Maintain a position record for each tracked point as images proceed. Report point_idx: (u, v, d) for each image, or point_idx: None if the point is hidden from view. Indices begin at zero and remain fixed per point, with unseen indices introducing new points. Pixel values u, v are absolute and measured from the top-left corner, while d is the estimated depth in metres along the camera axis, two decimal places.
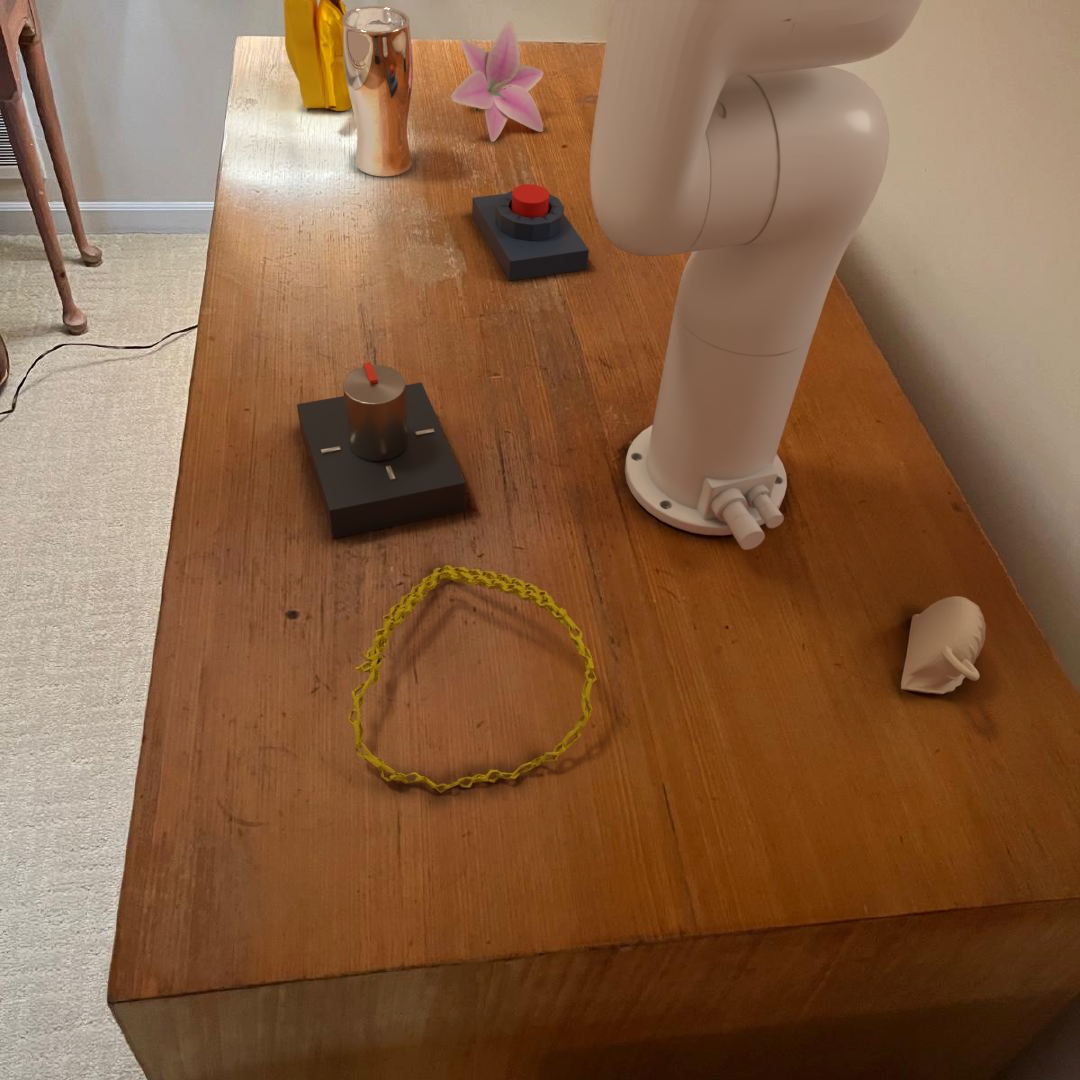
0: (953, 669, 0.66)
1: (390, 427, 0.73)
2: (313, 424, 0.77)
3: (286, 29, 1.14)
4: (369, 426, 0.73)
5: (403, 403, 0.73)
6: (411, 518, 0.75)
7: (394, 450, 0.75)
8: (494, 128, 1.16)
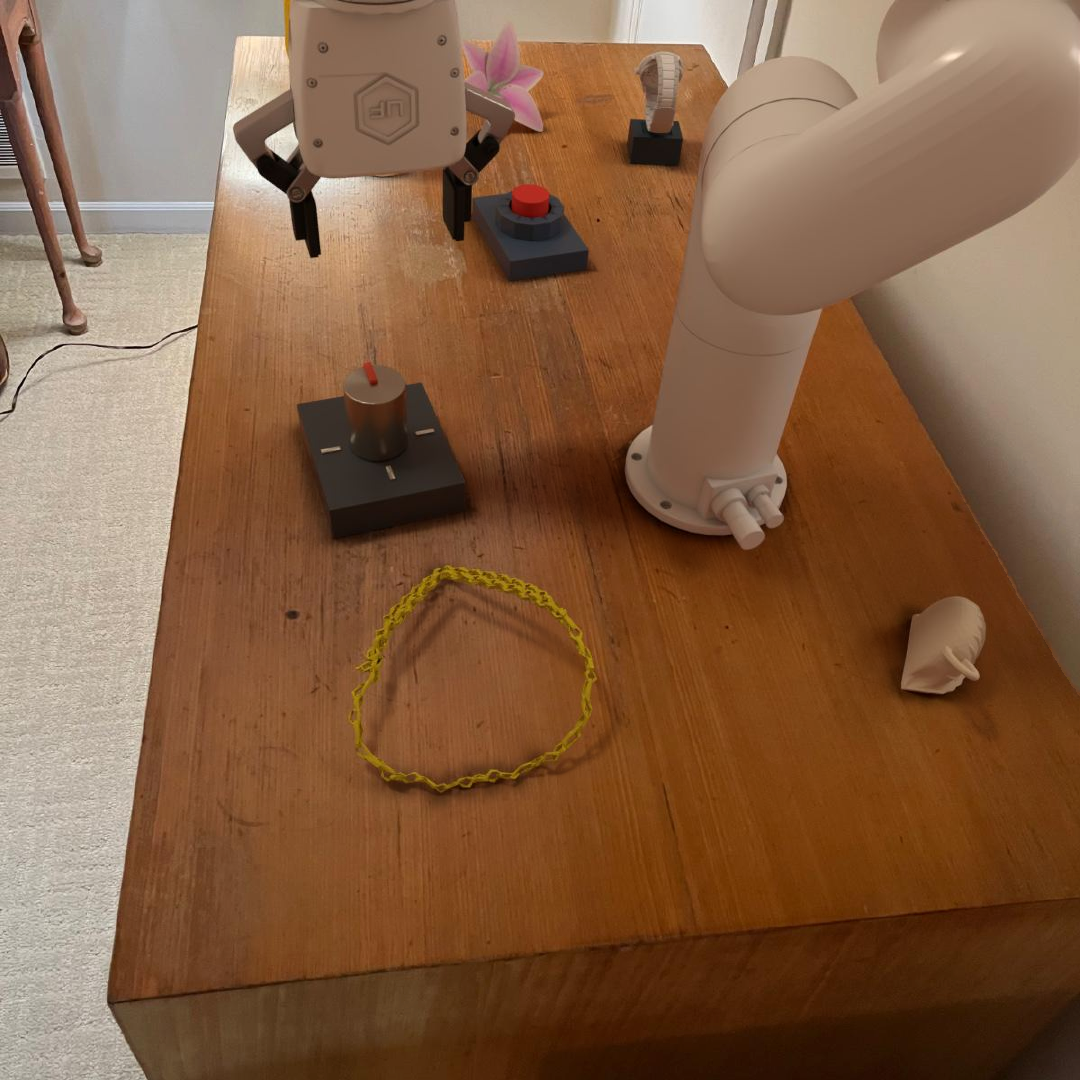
0: (953, 669, 0.66)
1: (390, 427, 0.73)
2: (313, 424, 0.77)
3: (286, 29, 1.14)
4: (369, 426, 0.73)
5: (403, 403, 0.73)
6: (411, 518, 0.75)
7: (394, 450, 0.75)
8: None
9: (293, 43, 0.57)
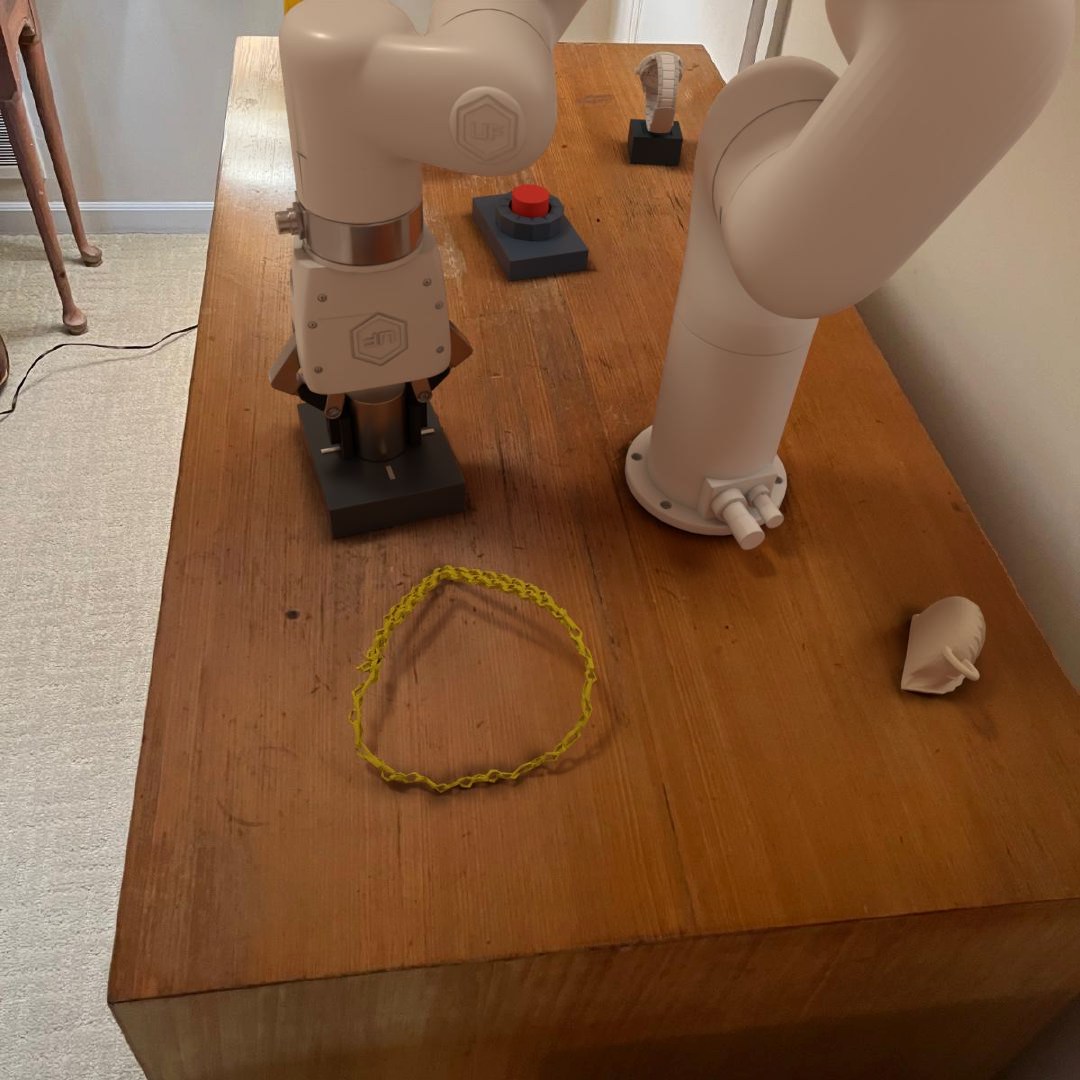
0: (953, 669, 0.66)
1: (390, 427, 0.73)
2: (313, 424, 0.77)
3: None
4: (369, 426, 0.73)
5: (403, 403, 0.73)
6: (411, 518, 0.75)
7: (394, 450, 0.75)
8: None
9: (295, 292, 0.64)
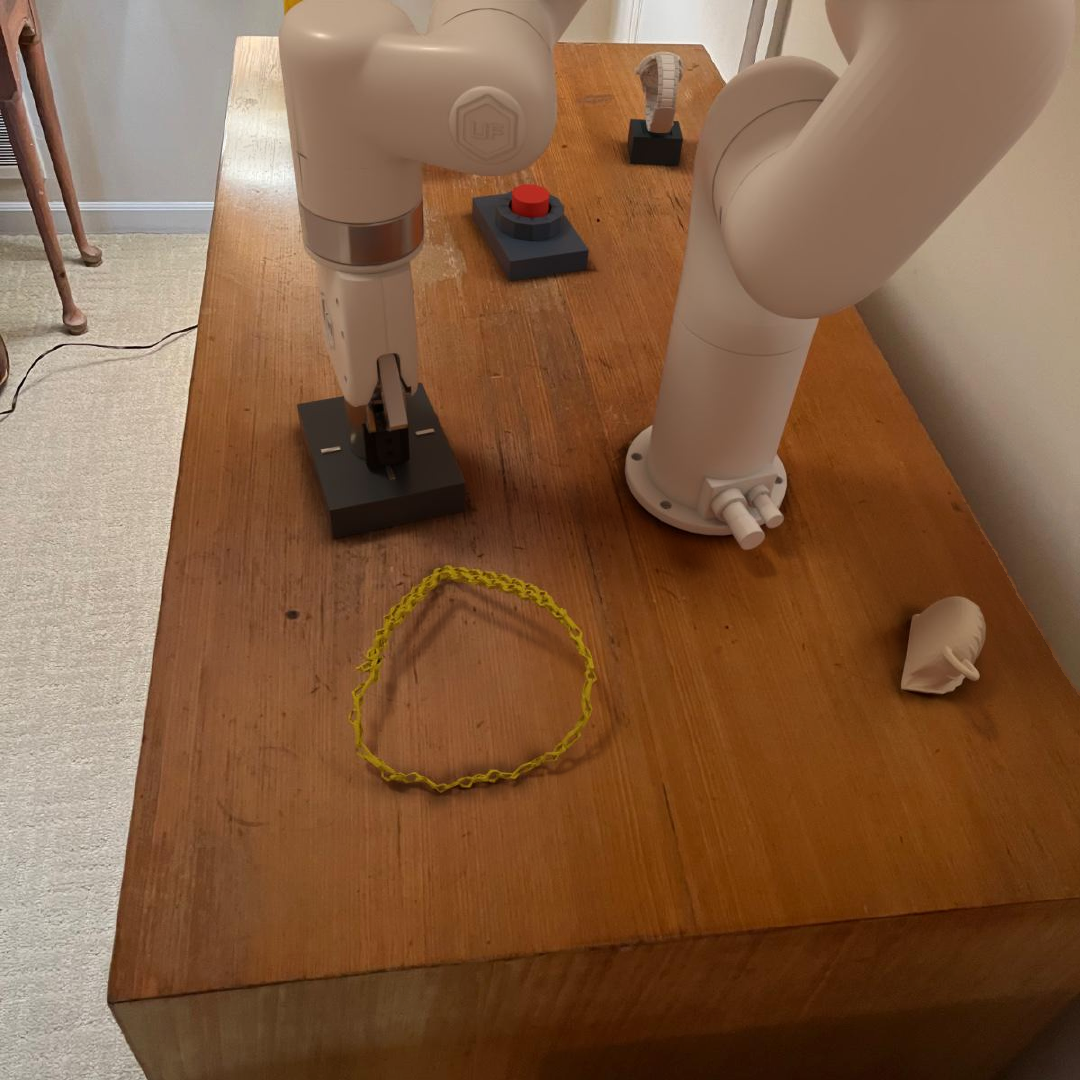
0: (953, 669, 0.66)
1: (348, 418, 0.73)
2: (313, 424, 0.77)
3: None
4: None
5: (361, 414, 0.72)
6: (411, 518, 0.75)
7: (352, 445, 0.75)
8: None
9: None
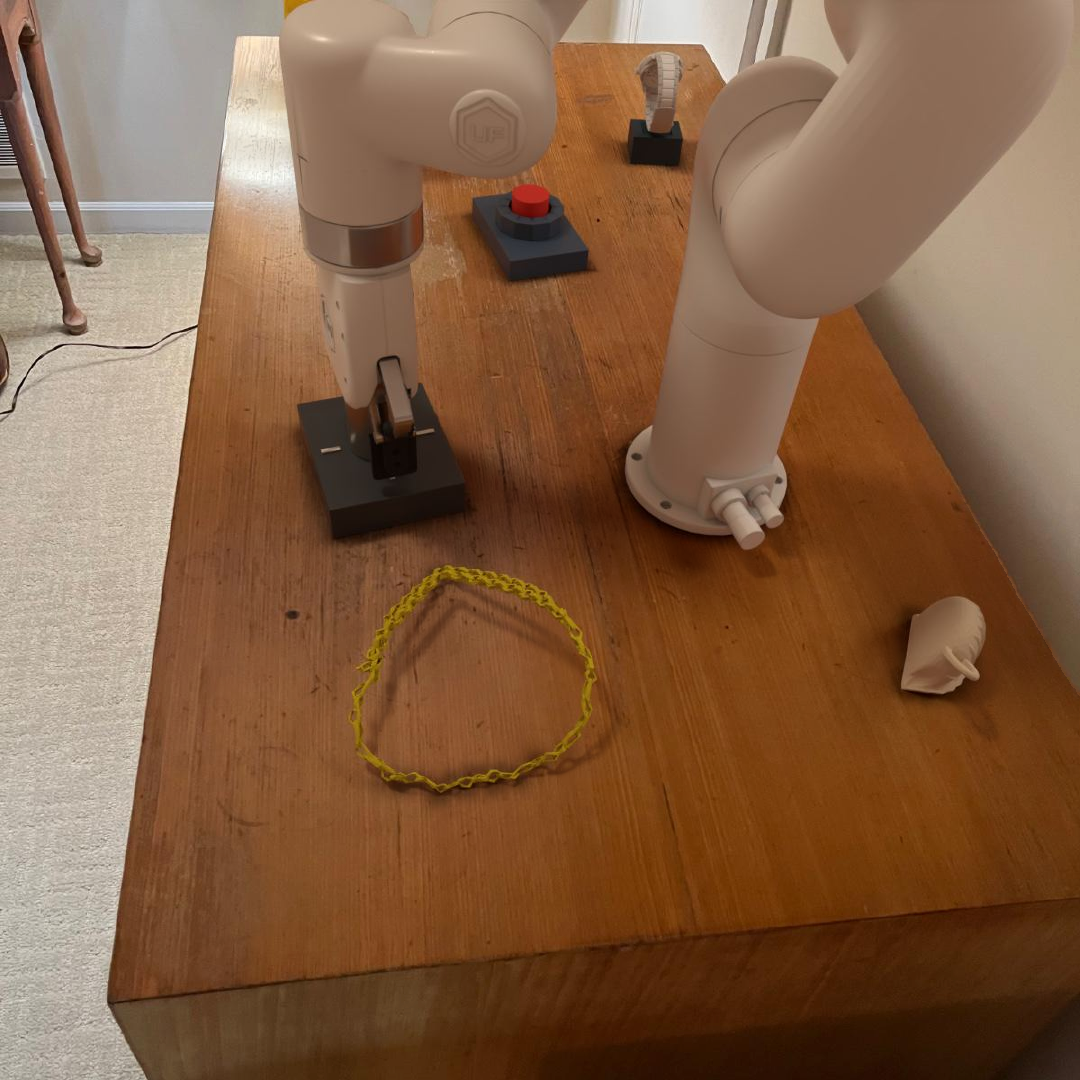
0: (953, 669, 0.66)
1: (348, 418, 0.73)
2: (313, 424, 0.77)
3: None
4: None
5: (361, 414, 0.72)
6: (411, 518, 0.75)
7: (352, 445, 0.75)
8: None
9: None
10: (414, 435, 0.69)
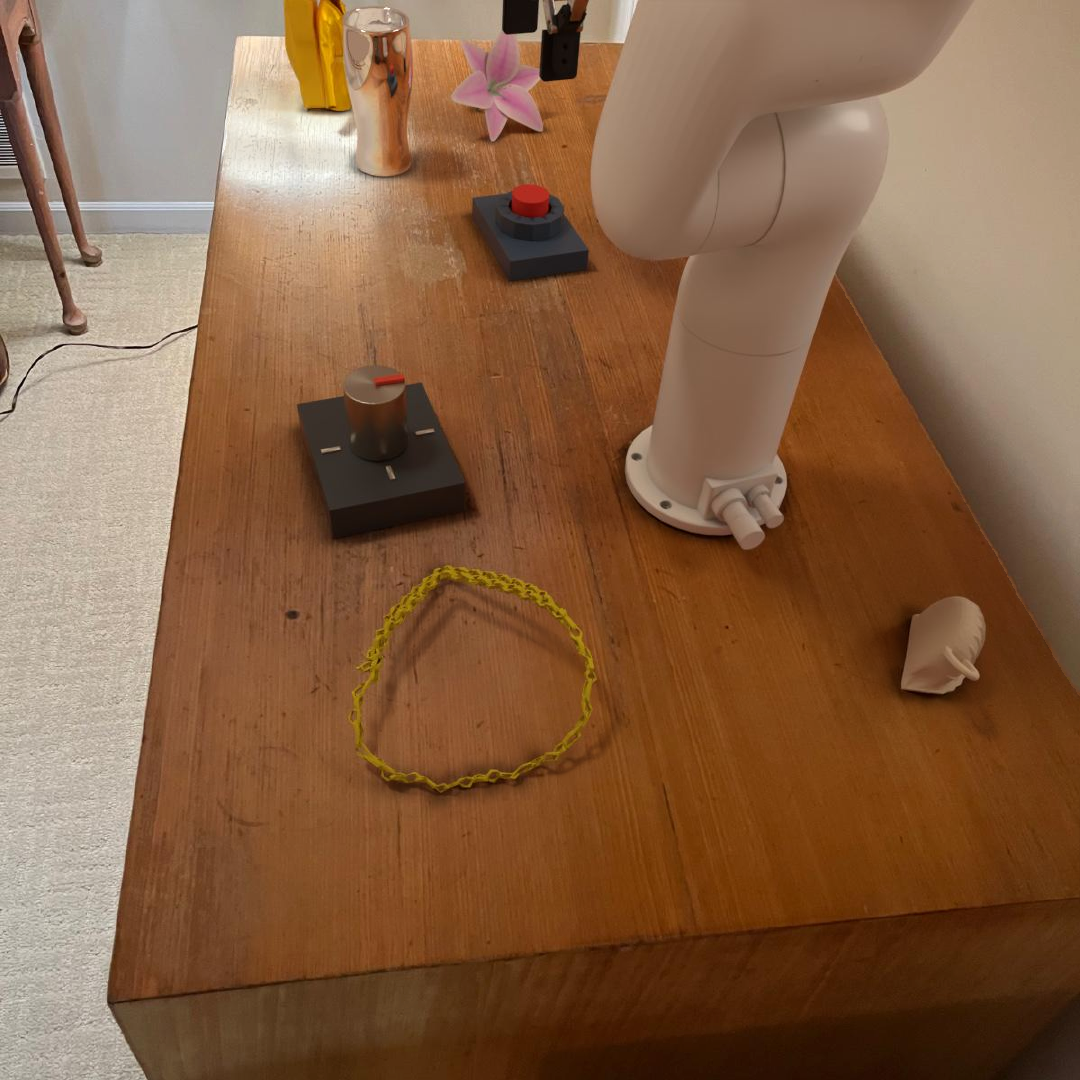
0: (953, 669, 0.66)
1: (348, 418, 0.73)
2: (313, 424, 0.77)
3: (286, 29, 1.14)
4: None
5: (361, 414, 0.72)
6: (411, 518, 0.75)
7: (352, 445, 0.75)
8: (494, 128, 1.16)
9: None
10: (581, 28, 0.82)
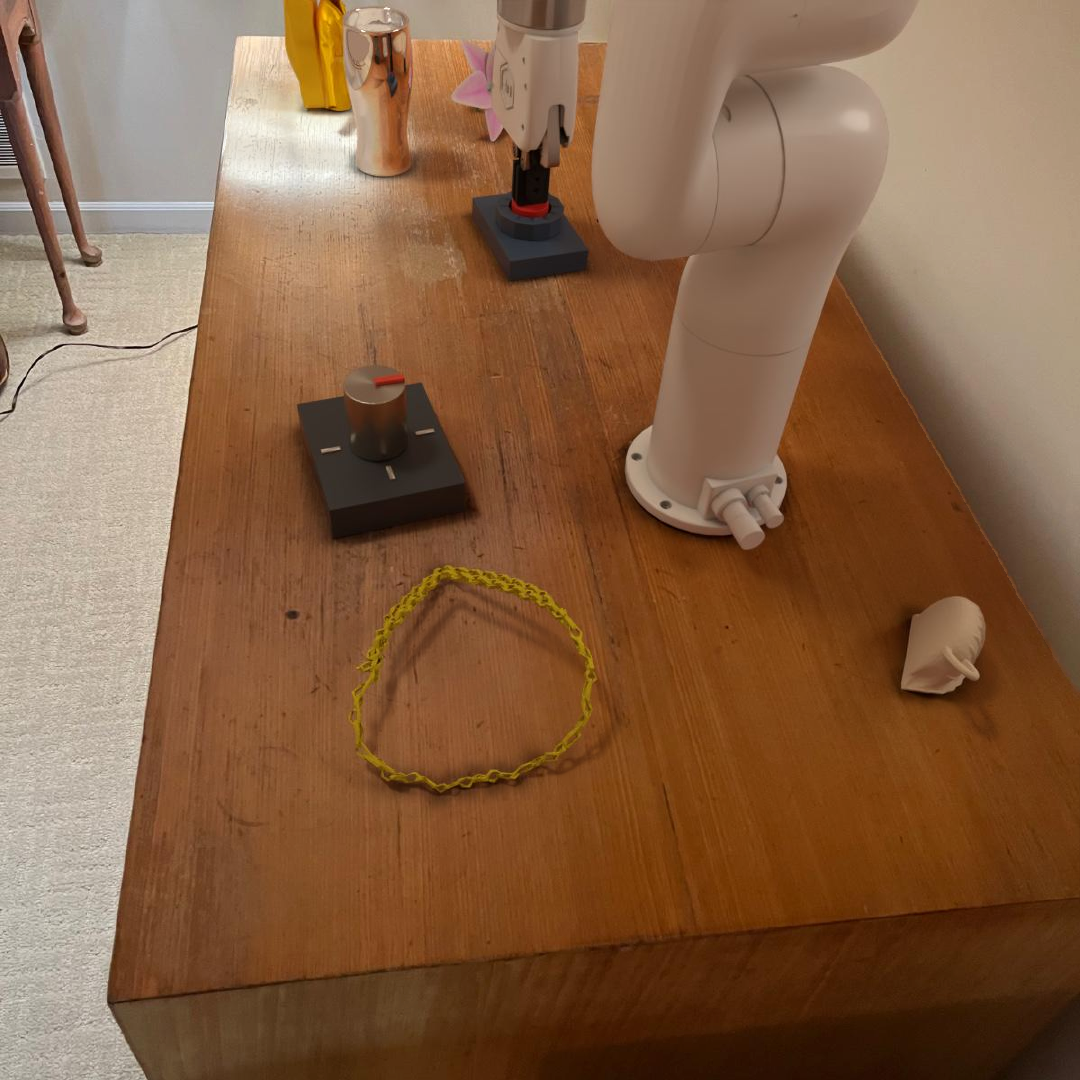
0: (953, 669, 0.66)
1: (348, 418, 0.73)
2: (313, 424, 0.77)
3: (286, 29, 1.14)
4: None
5: (361, 414, 0.72)
6: (411, 518, 0.75)
7: (352, 445, 0.75)
8: (494, 128, 1.16)
9: None
10: None
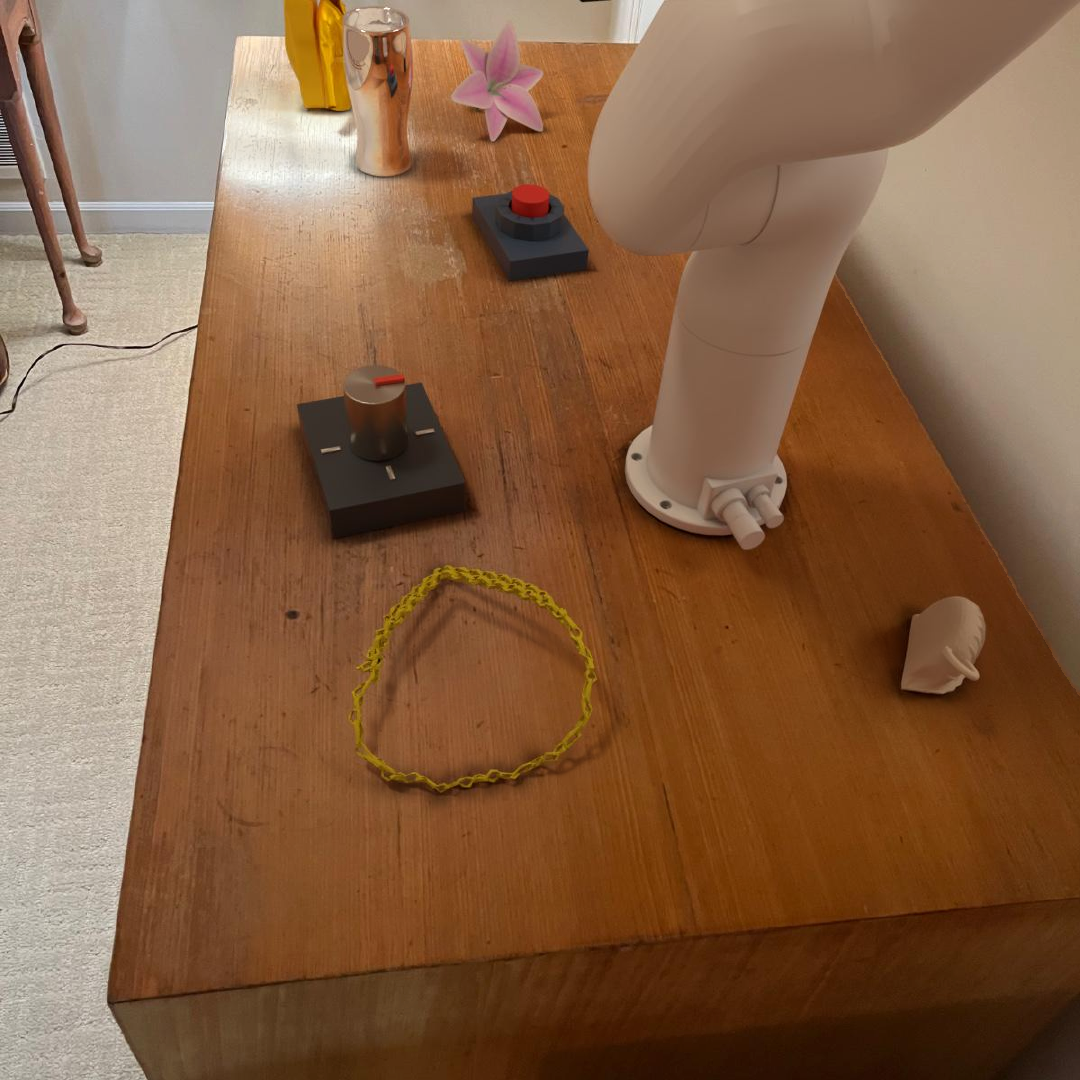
0: (953, 669, 0.66)
1: (348, 418, 0.73)
2: (313, 424, 0.77)
3: (286, 29, 1.14)
4: None
5: (361, 414, 0.72)
6: (411, 518, 0.75)
7: (352, 445, 0.75)
8: (494, 128, 1.16)
9: None
10: None
